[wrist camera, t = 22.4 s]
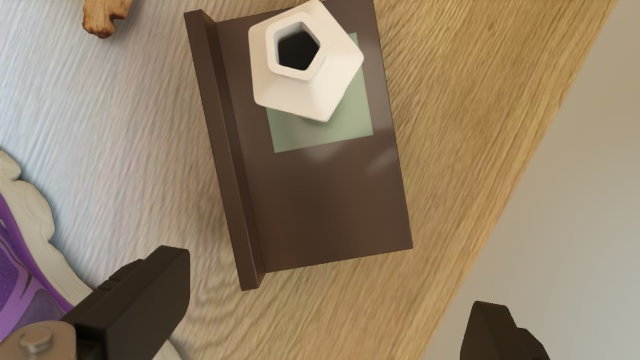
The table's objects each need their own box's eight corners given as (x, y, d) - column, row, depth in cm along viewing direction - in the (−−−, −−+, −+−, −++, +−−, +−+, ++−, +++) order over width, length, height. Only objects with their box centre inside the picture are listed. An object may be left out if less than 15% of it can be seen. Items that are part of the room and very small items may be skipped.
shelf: (366, 9, 31) (376, -27, 24) (404, 235, 33) (422, 261, 26) (215, 39, 32) (182, 12, 25) (260, 259, 34) (241, 291, 27)
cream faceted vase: (267, 91, 28) (193, 40, 13) (315, 48, 28) (296, -53, 13) (310, 142, 28) (286, 149, 13) (359, 101, 28) (389, 60, 13)
